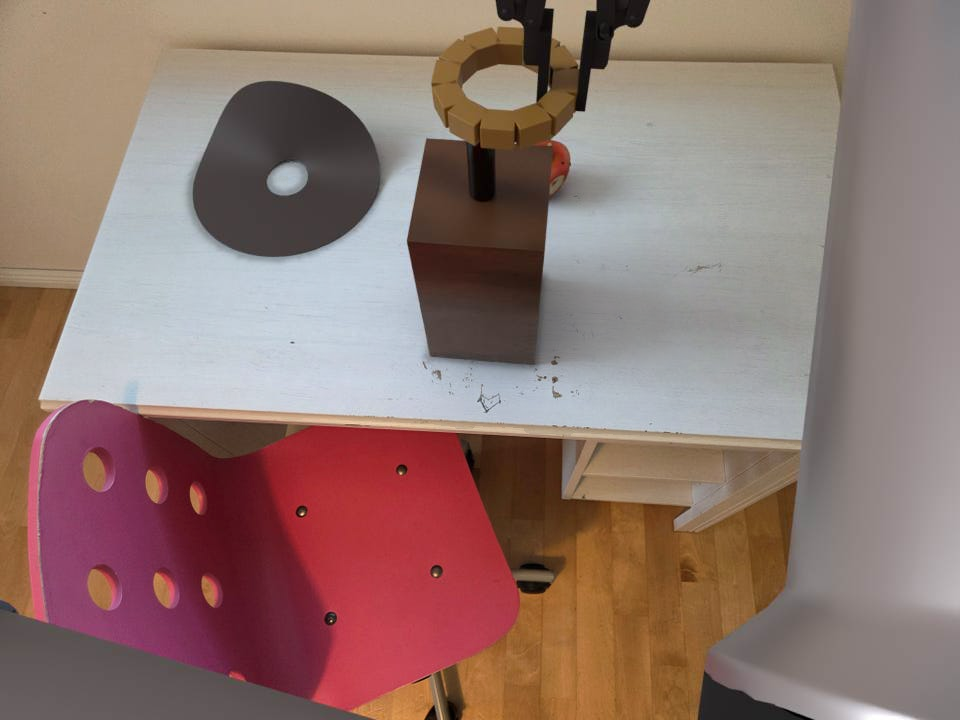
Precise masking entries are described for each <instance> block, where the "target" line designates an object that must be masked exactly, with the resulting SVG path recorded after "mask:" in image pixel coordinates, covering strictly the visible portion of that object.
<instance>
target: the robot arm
mask: <svg viewBox="0 0 960 720" xmlns="http://www.w3.org/2000/svg"><path fill="white" fill-rule="evenodd" d="M851 2H852V3H851V10H850V19H849V28H848V36H847V44H846V55H845V61H844V72H843V79H842V89H841V97H840V106H839V115H838V123H837V131H836V141H835V151H834V157H833V158H834V160H833V165H832V166H833V167H832V176H831V184H830V192H829V193H830V194H829V202H828V211H827V219H826V227H825V236H824V245H823V254H822V263H821V272H820V280H819V288H818V297H817V307H816V316H815V322H814V323H815V324H814V332H813V341H812V349H811V350H812V351H811V359H810V366H809V375H808V383H807V384H808V385H807V393H806V401H805V411H804V419H803V429H802V437H801V446H800V455H799V463H798V473H797V479H796V488H795V489H796V490H795V498H794V505H793V515H792V516H793V517H792V524H791V533H790V542H789V548H788V549H789V550H788V559H787V566H786V568H787V569H786V575H785V576H786V577H785V583H784V584H785V586H784V588H783V589H782V590H781V591H780V592H779V593H778V594H777V595H776V597H775V598H774V599H773V600H772V601H771V603H769V604H768V606H766V607H765V608H763V609H762V610H761V611H759V612H758V613H756V614H755V615H754V616H752V617H751V618H750V619H749V618H748V619H747V620H746V621H745V622H743V623H742V624H740V625H739V626H738V627H737V628H735V629H734V630H732V631H731V632H729V633H728V634H727V635H725V636H724V637H722V638H721V639H719V640H718V641H716V642H715V643H714V644H713V645H711V646H710V647H709V648H706V656H705V657H706V658H705V665H704V669H703V676H702V684H701V690H700V696H699V704H698V713H697V719H696V720H960V0H852V1H851ZM650 3H651V0H596V1H595V6H596V7H595V10H588V9H586V10H585V16H584V24H583V25H584V26H583V35H582V43H581V50H580V58H579V59H580V60H579V65H578V69H579V78H578V92H577V100H576V108H575V111H576V112H581V113H582V112H583V113H585V112H586V108H587V101H588V93H589V87H590V79H591V72H592V70H605V69H606V68H607V66H608V64H609V59H610V52H611V47H612V41H613V39H614V37H615V31H617V29H619V28H620V27H624V26H625V27H626V26H627V27H628V28H631V29H636V28H638V27H640V26H641V25H642V24H643V22H644V20H645V18H646V14H647V11H648V8H649V6H650ZM546 5H547V0H495V7H496V14H497V17H498V18H499V19H500V20H501V21H503V22H510V21H512V20H513V21H516V22H519V24H520V25H521V26H522V28H524V43H523V61H524V63H525V65H530V66H538V74H537V82H536V83H537V84H536V97H535V98H536V99H535V103H537V102H538V101H539V100H540V99H541V98H542V97H543V96H544V95H545V94H546V93H547V92H548V91H549V86H548V80H549V67H550V54H551V41H552V38H553V29H554V28H553V26H554V16H555V15H554V14H555V8H553V7H552V8H550V7H546ZM0 720H377V719H375V718H372V717H369V716H366V715H362V714H358V713H355V712H351V711H348V710H346V709H341V708H337V707H335V706H332V705H328V704H324V703H321V702H318V701H314V700H312V699H311V700H310V699H307V698H304V697H301V696H297V695H294V694H290V693H288V692H284V691H281V690H277V689H274V688H271V687H266V686H263V685H260V684H257V683H253V682H250V681H246V680H244V679H239V678H236V677H234V676H229V675H227V674H222V673H219V672H216V671H213V670H209V669H205V668H202V667H199V666H196V665H192V664H189V663H186V662H182V661H179V660H175V659H172V658H168V657H165V656H161V655H158V654H155V653H152V652H148V651H145V650H142V649H138V648H134V647H131V646H127V645H124V644H122V643H118V642H114V641H112V640H111V641H110V640H107V639H104V638H100V637H97V636H94V635H91V634H87V633H83V632H80V631H76V630H75V629H71V628H66V627H64V626H60V625H57V624H54V623H50V622H46V621H43V620H39V619H36V618H33V617H30V616H26V615H23V614H20V613H19V611H18V610H17V609H16V608H15V607H14V606H13V605H12V604H11V603H9V602H8V601H5V600H3V599H2V598H0Z"/></svg>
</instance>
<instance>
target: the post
mask: <svg viewBox="0 0 960 720" xmlns="http://www.w3.org/2000/svg"><path fill="white" fill-rule="evenodd" d="M466 149H467V165H468V181H469V194H470V196H471V197H472V198H473V199H474V200H476V201H479V202H486V201H489V200H491V199H492V198H493V197H494V195H495V193H496V159H495V149H491V148H481V141H480V142H479V143H478V144H477V145H476V146H474V145H472V144H470V143H468V142H467V141H466Z"/></svg>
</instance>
